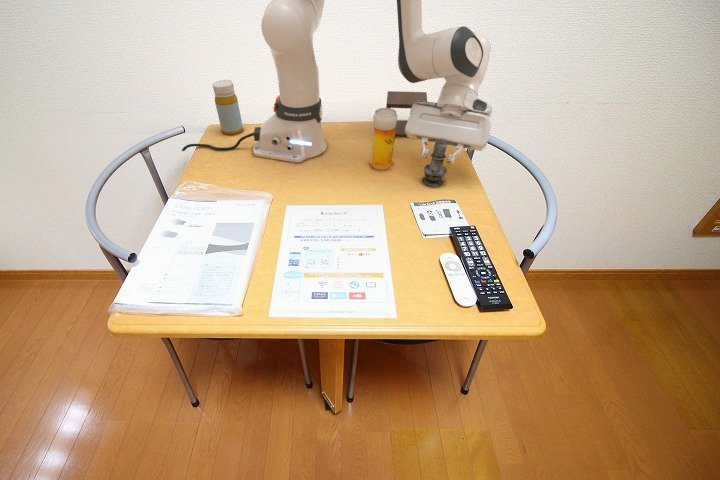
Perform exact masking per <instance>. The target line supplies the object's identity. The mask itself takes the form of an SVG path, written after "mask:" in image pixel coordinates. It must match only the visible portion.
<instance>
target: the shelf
mask: <svg viewBox="0 0 720 480" xmlns="http://www.w3.org/2000/svg"><path fill="white" fill-rule="evenodd" d="M419 101H425V102H428V94H427V92H426V91H398V90H397V91H393V90H392V91H391V90H388V91H387V93H386V106H385V108H391V109H411V108H412V106H413V104H415V103H416V102H419ZM407 122H408V120H404V119H403V120H402V119H401V120H400V119H399V120H398V119H397V124H396V133H395V137H401V138H403V137H404V138H408V137H407V135H406V133H405V127H406V124H407Z"/></svg>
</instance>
